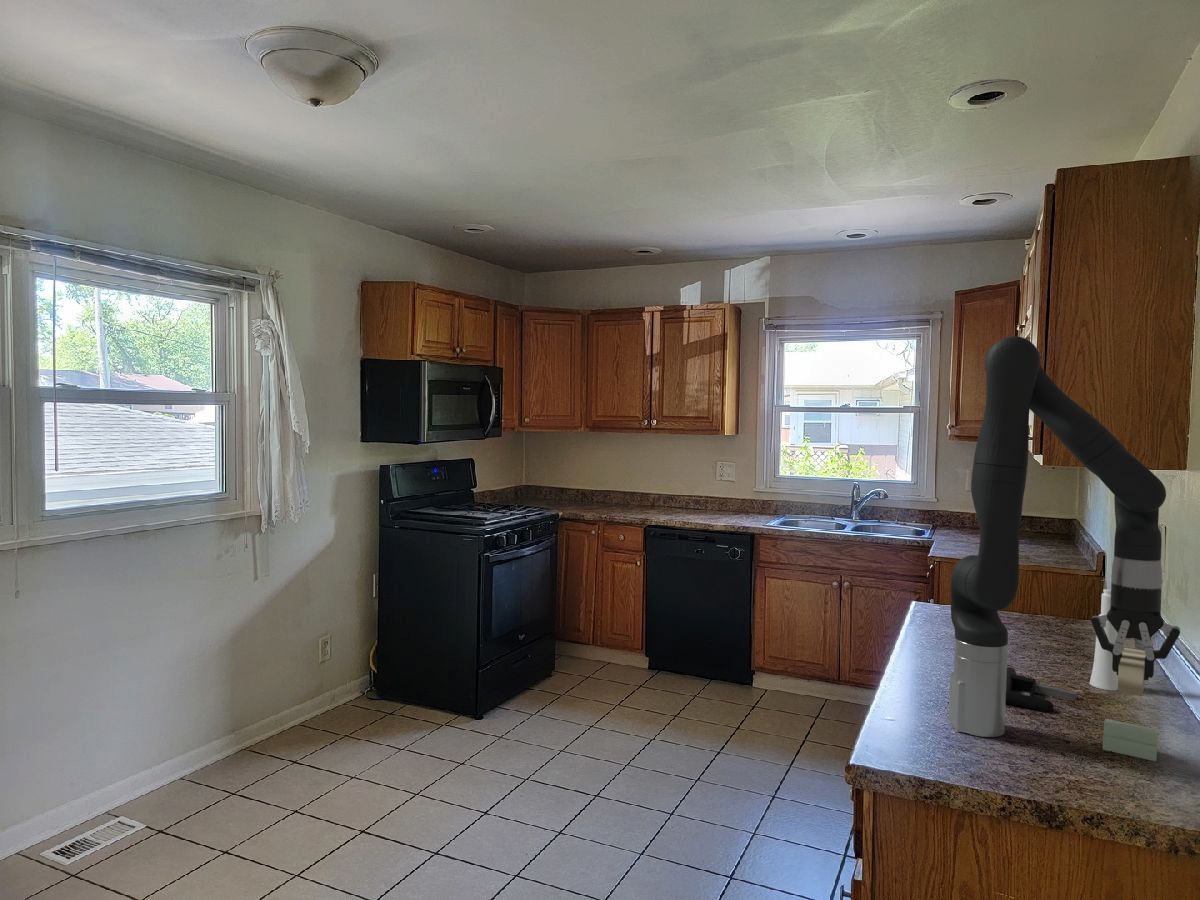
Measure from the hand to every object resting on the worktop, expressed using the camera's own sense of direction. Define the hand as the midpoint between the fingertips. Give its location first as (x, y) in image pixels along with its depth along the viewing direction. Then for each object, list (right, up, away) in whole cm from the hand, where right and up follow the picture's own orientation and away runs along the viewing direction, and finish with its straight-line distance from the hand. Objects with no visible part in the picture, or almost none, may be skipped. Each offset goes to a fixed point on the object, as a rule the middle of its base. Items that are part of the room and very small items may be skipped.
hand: (1132, 676), depth 142 cm
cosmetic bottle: (+18, -13, +35) cm, 42 cm away
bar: (0, -1, 0) cm, 1 cm away
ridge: (0, -14, 0) cm, 14 cm away
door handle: (-2, -13, +29) cm, 31 cm away
